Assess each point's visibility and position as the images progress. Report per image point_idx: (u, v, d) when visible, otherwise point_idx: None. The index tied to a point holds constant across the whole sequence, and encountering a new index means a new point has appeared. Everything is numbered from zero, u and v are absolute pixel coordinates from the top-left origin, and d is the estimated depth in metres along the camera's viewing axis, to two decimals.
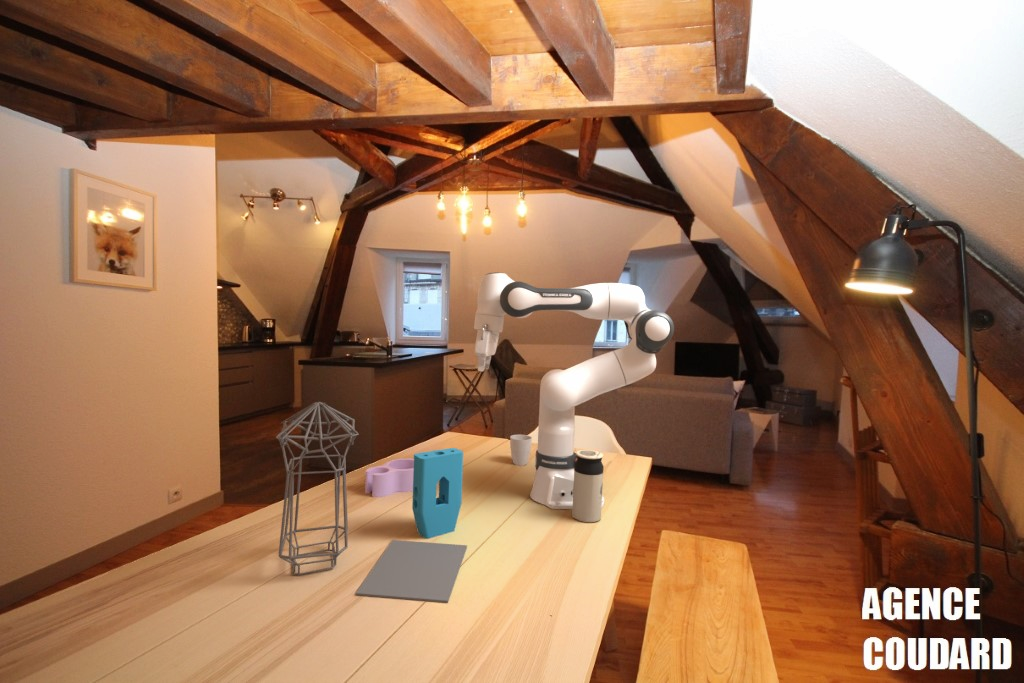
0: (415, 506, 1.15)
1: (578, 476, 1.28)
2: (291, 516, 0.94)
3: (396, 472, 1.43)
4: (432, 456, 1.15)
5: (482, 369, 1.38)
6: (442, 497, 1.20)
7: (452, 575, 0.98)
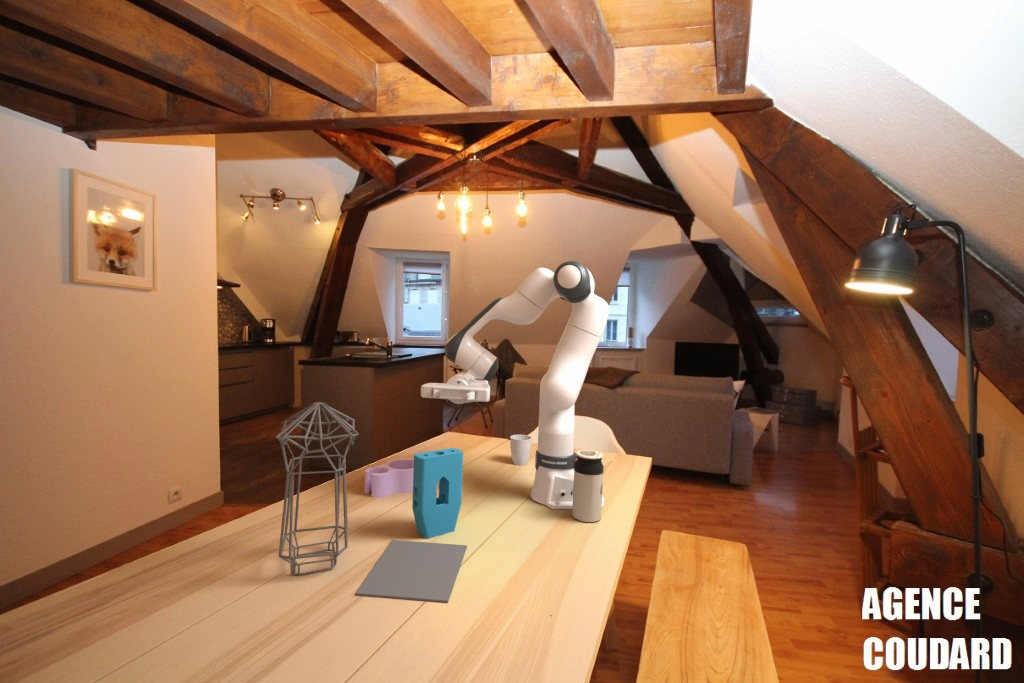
0: (415, 506, 1.15)
1: (578, 476, 1.28)
2: (291, 516, 0.94)
3: (395, 472, 1.43)
4: (432, 456, 1.15)
5: None
6: (442, 497, 1.20)
7: (452, 575, 0.98)
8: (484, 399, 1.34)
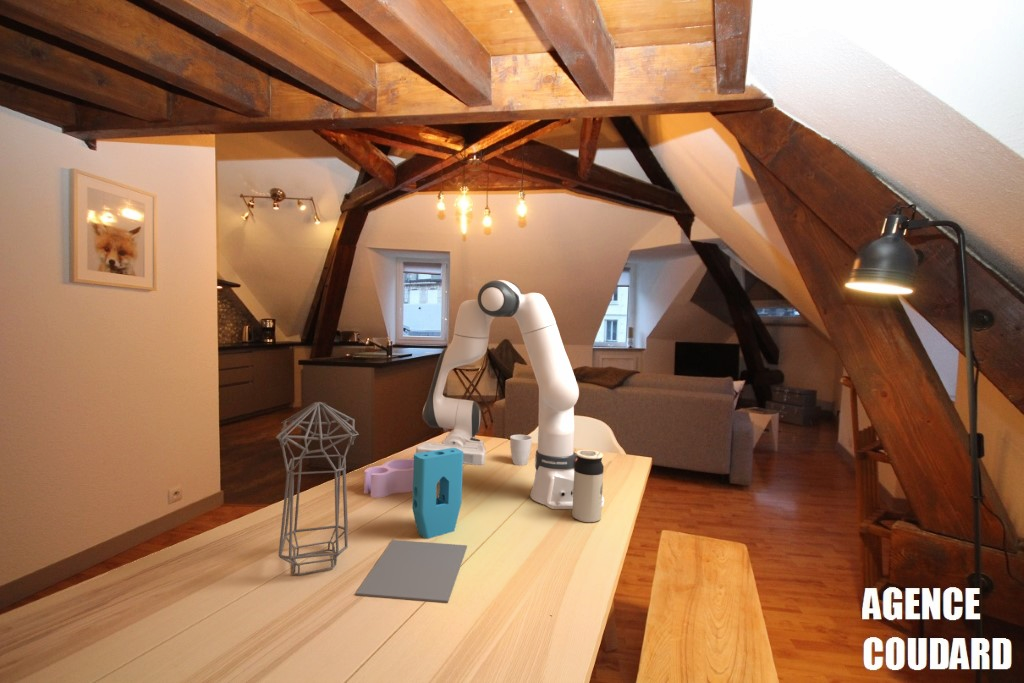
0: (415, 506, 1.15)
1: (578, 476, 1.28)
2: (291, 516, 0.94)
3: (394, 472, 1.43)
4: (432, 456, 1.15)
5: None
6: (442, 497, 1.20)
7: (452, 575, 0.98)
8: (479, 463, 1.34)
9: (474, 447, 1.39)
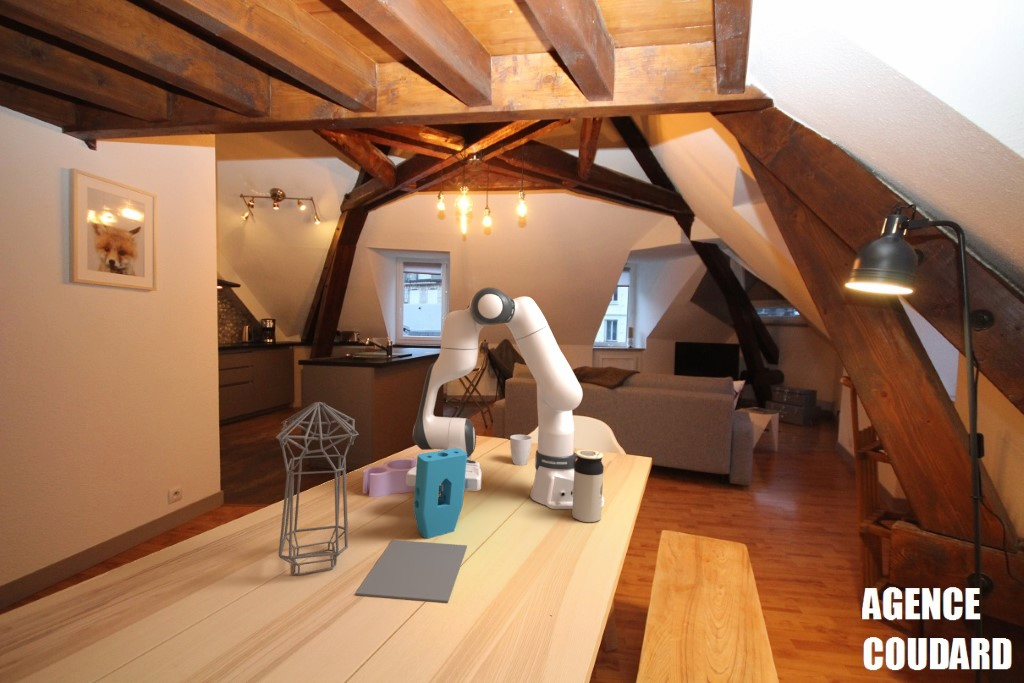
0: (416, 506, 1.15)
1: (578, 476, 1.28)
2: (291, 516, 0.94)
3: (393, 472, 1.43)
4: (436, 458, 1.13)
5: None
6: (444, 497, 1.20)
7: (452, 575, 0.98)
8: (475, 488, 1.24)
9: (469, 470, 1.29)
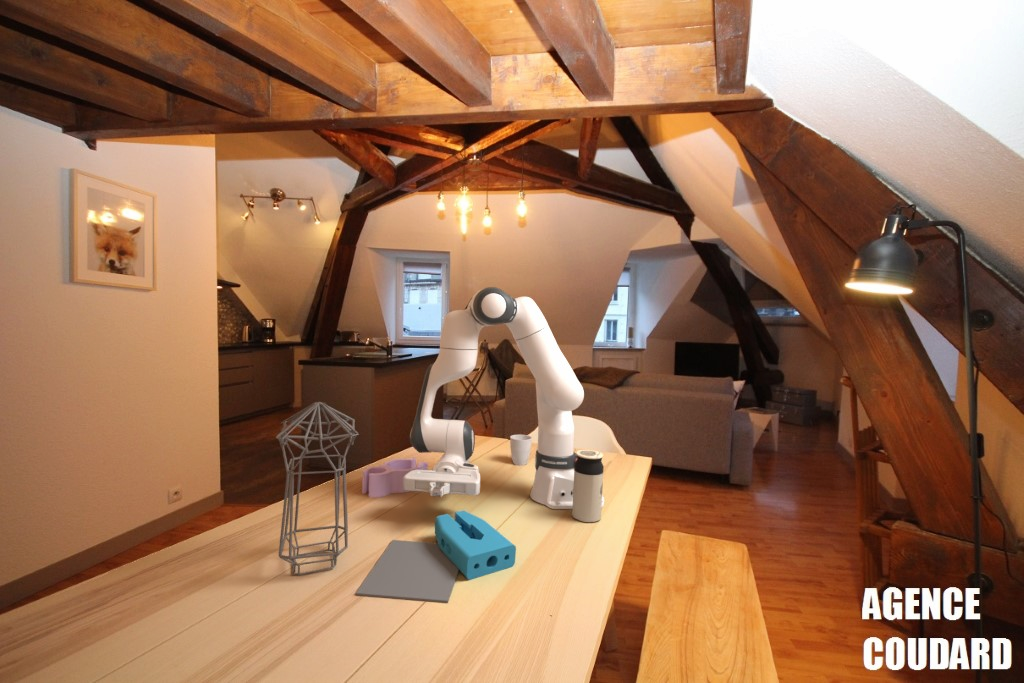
0: (442, 539, 1.07)
1: (578, 476, 1.28)
2: (291, 516, 0.94)
3: (393, 472, 1.43)
4: (480, 574, 0.99)
5: None
6: (473, 531, 1.11)
7: (452, 575, 0.98)
8: (473, 493, 1.21)
9: (468, 474, 1.26)
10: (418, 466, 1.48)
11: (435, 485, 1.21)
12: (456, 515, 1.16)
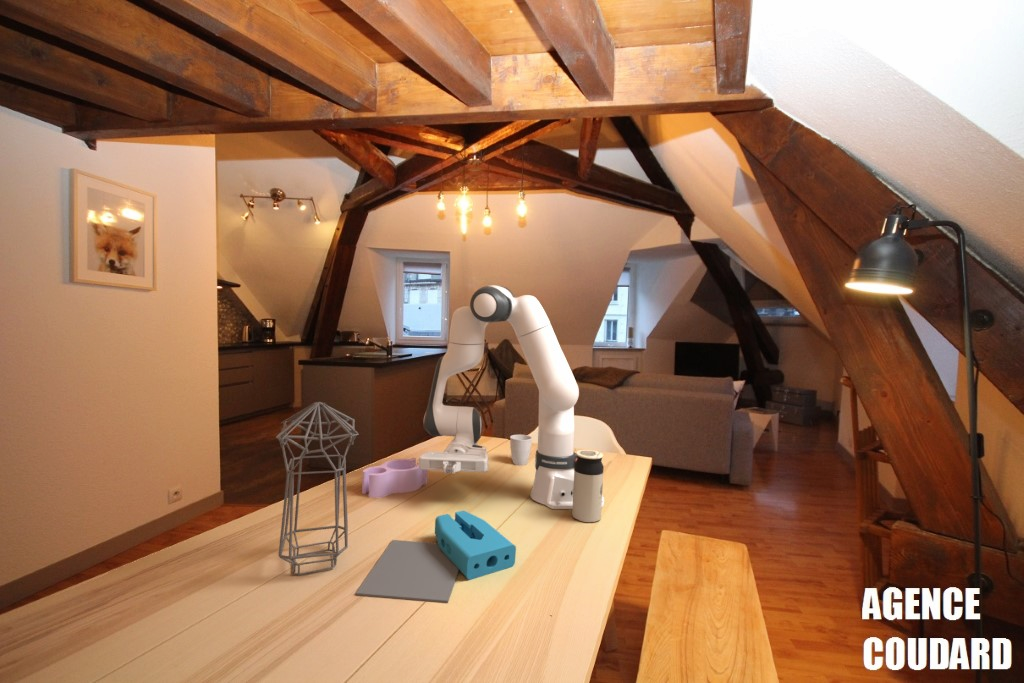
0: (442, 539, 1.07)
1: (578, 476, 1.28)
2: (291, 516, 0.94)
3: (393, 472, 1.42)
4: (480, 574, 0.99)
5: None
6: (473, 531, 1.11)
7: (452, 575, 0.98)
8: (482, 470, 1.34)
9: (477, 454, 1.39)
10: (418, 466, 1.48)
11: (448, 464, 1.34)
12: (456, 515, 1.16)
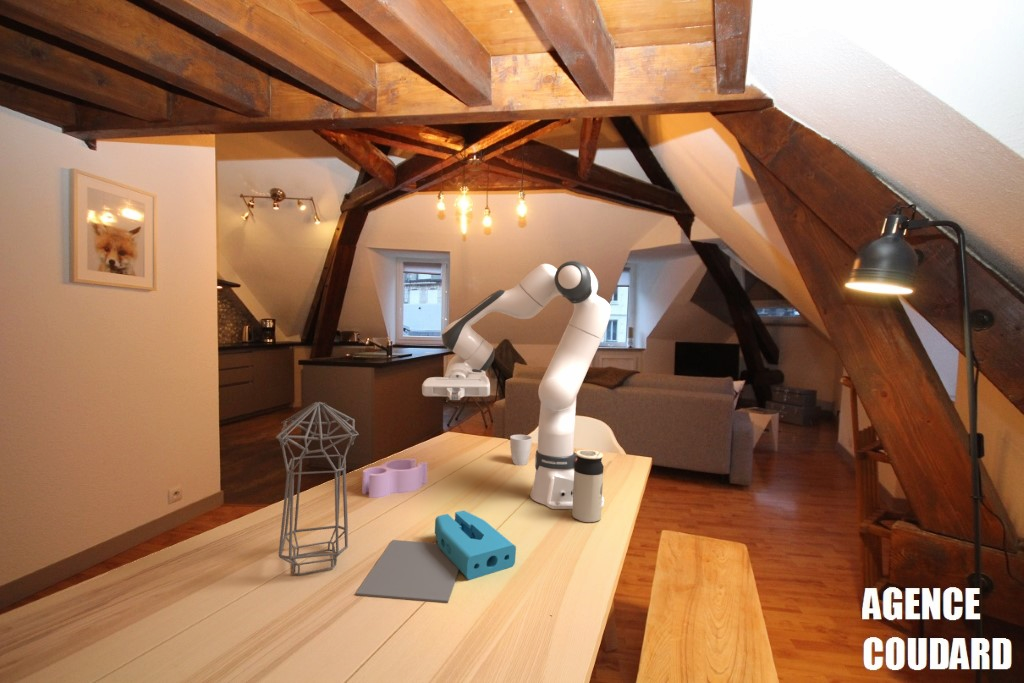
0: (442, 539, 1.07)
1: (577, 476, 1.28)
2: (291, 516, 0.94)
3: (393, 472, 1.42)
4: (480, 574, 0.99)
5: (449, 395, 1.35)
6: (473, 531, 1.11)
7: (452, 575, 0.98)
8: (485, 394, 1.40)
9: (477, 378, 1.44)
10: (418, 466, 1.48)
11: (451, 390, 1.38)
12: (456, 515, 1.16)
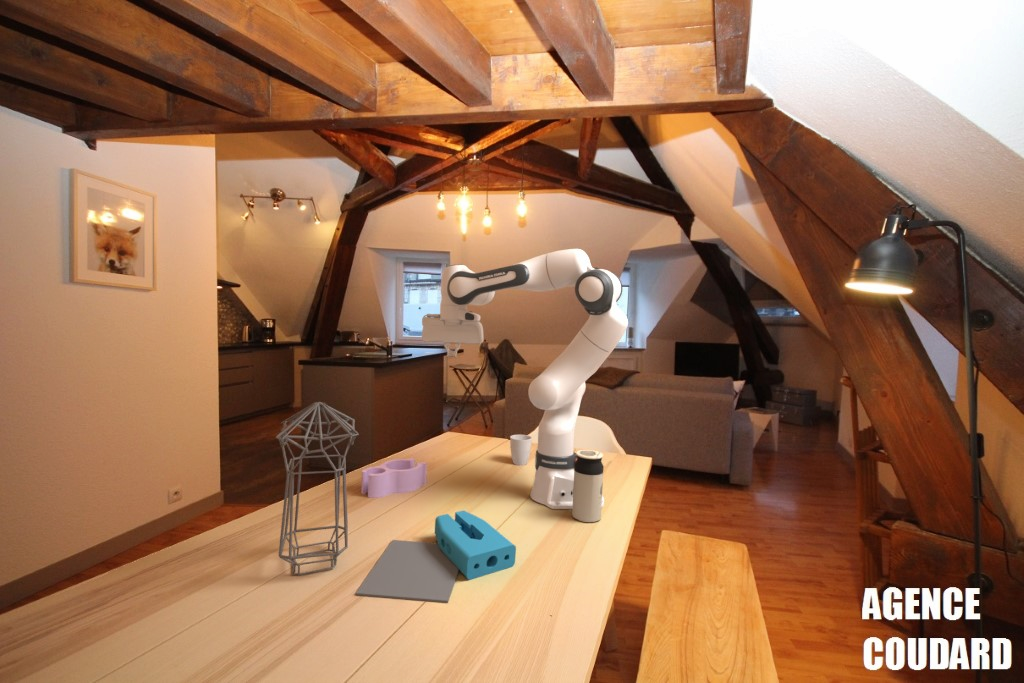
0: (442, 539, 1.07)
1: (577, 476, 1.28)
2: (291, 516, 0.94)
3: (392, 472, 1.42)
4: (480, 574, 0.99)
5: None
6: (473, 531, 1.11)
7: (452, 575, 0.98)
8: None
9: (471, 326, 1.52)
10: (417, 466, 1.48)
11: (448, 343, 1.54)
12: (456, 515, 1.16)
